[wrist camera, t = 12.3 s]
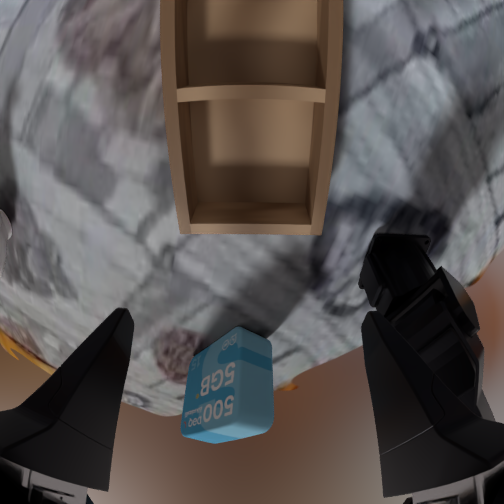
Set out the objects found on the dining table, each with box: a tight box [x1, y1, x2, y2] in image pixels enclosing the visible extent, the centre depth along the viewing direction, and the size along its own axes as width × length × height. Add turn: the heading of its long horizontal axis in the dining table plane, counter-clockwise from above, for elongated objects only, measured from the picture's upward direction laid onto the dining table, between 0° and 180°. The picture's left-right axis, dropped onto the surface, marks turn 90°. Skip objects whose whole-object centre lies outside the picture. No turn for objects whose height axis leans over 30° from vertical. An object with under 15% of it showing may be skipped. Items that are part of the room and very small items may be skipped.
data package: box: [181, 327, 274, 443], centre depth 29 cm, size 12×4×12 cm, turn 140°
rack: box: [160, 0, 343, 235], centre depth 12 cm, size 10×27×4 cm, turn 0°
